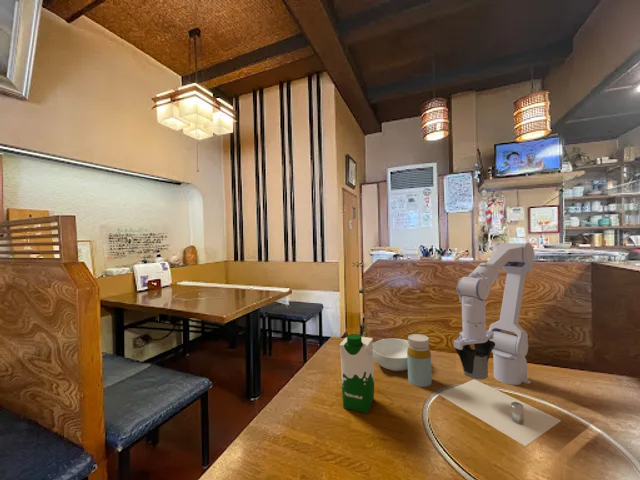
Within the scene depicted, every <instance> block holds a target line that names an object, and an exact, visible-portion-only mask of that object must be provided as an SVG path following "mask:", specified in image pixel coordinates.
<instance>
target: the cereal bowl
mask: <svg viewBox="0 0 640 480" xmlns="http://www.w3.org/2000/svg"><path fill="white" fill-rule="evenodd" d="M407 350H408V339H404V338H403V339H402V338H394V337H393V338H389V337H388V338H382V339H379V340H377V341H374V342H373V360H374V361H375V362H376V363H377V365H379V366H381V367H382V368H385V369H387V370H389V371H393V372H403V371H408V361H407Z"/></svg>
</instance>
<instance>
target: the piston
mask: <svg viewBox="0 0 640 480" xmlns="http://www.w3.org/2000/svg"><path fill="white" fill-rule="evenodd" d="M511 410H512V421H513V422H514V423H516V424H520V425H522V424H524V407H523V405H522V404H520V403H518V402H512V403H511Z"/></svg>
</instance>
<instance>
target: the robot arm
mask: <svg viewBox="0 0 640 480" xmlns="http://www.w3.org/2000/svg"><path fill="white" fill-rule="evenodd" d="M534 250H535V249H534V247H533V245H532V244H531V243H530V242H526V243H525V242H524V243H521V242H519V243H517V242H516V243H515V242H514V243H513V242H511V243H509V242H508V243H506V242H504V243H503V242H502V243H501V242H497V243H495V244H494V245H493V247H492V255H491V256H490V257H489V259H488V260H487V262H480V263H479V265H477V267H476V268H475V269H474V270H472V271H471V273H469V275H468V276H463V277H460V278H459V279H458V281H457V286H456V293H457V295H458V298H459V299H458V300H459V303H461V323H462V325H461V326H462V331H460V332H459V337H458V338H455V339H454V340H453V348H454V350H455V351H456V353H457V354H458V356H459V359H460V362H461V366H462V369H464V371H466V372H468V373H470V374H471V373H472V372H473V365H474V358H475V355H476V353H477V351H476V350H474V349H479V350H482V351H484V352H486V354H487V358H488V361H489V359H490V356H491V354H492V355H493V356H492V358H493V363H492V364H493V365H492V366H493V377H494V379H495V380H497V381H499V382H500V383H503V384H506V385H510V386H518V385H519V386H520V385H521V384H522V382H523V383H525V384H527V385H529V384H531V383H532V381H530V380H528V361H527V359H526V356H527V354H528V351H529V342H528V337H529V335H528V333H527V331H526V330H524V328H522V327H521V326H520V325H519V322H520V314H521V308H522V302H523V294H524V288H525V281H526V275H527V273H530V272H532V271H533V266H534V262H535V251H534ZM499 270H503V271H504V272H506V278H505V284H504V288H503V289H504V290H503V297H502V301H501V307H500V308H501V310H500V314H499V320H496V322H492V323H491V324H490V325H489V328H488V329H487V320H486V319H487V316H486V315H487V314H486V299H488V297H489V296H490V290H491V289H492V285H493V283H495V281H496V280H497V279H498V278H499V276H500V271H499ZM471 345H473V346H474V348H473V349H471V348H472V347H471ZM464 371H463V372H464Z"/></svg>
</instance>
